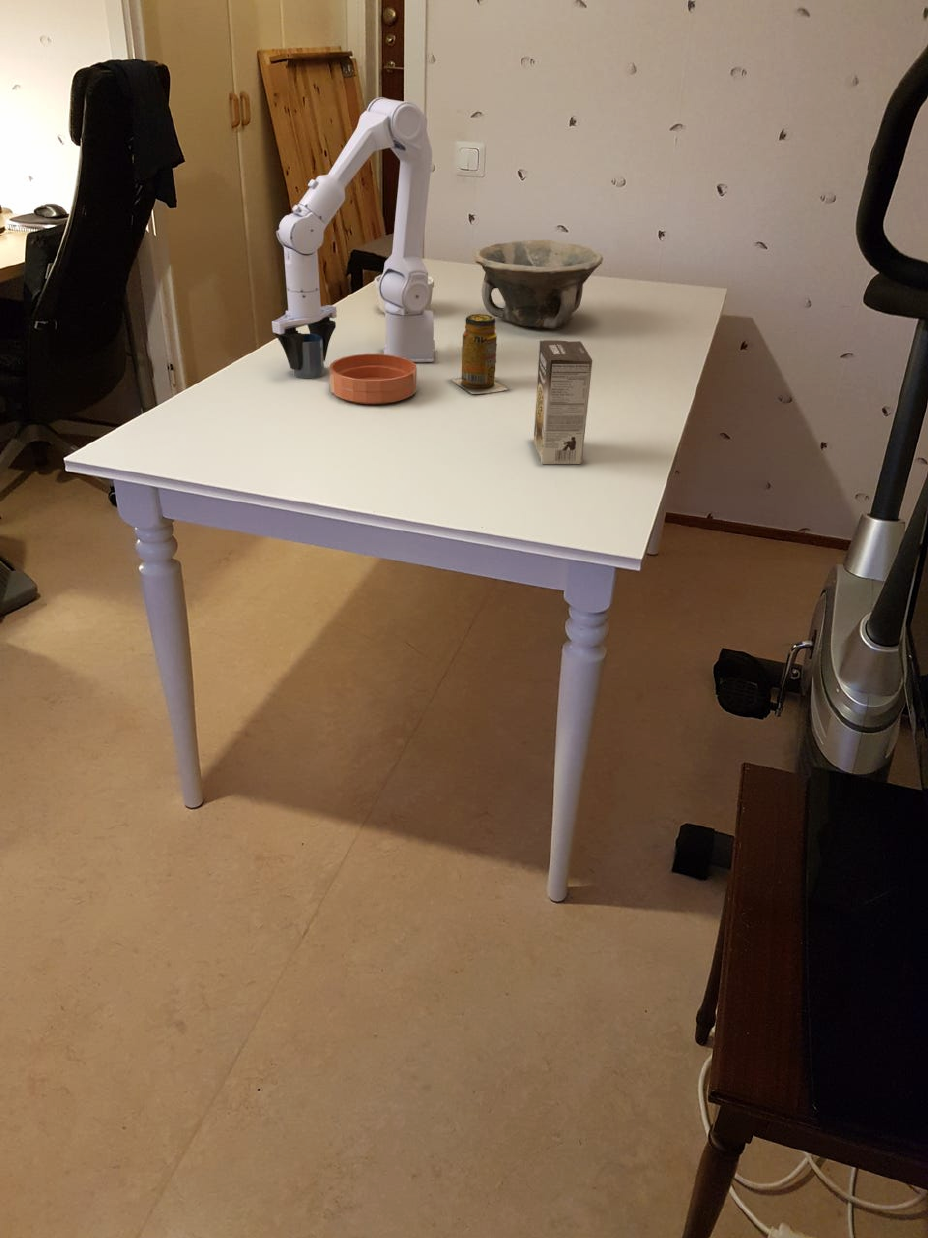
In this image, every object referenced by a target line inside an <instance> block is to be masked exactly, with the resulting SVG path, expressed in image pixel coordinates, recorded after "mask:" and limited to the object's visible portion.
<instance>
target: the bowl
mask: <svg viewBox="0 0 928 1238" xmlns="http://www.w3.org/2000/svg"><path fill="white" fill-rule="evenodd" d="M603 260H604V257H603V255H602V254H600V253H599V252H598V251H596V250H594V249H593V248H591V247H588V246H586V245H581V244H577V243H573V242H572V243H570V242H566V241H560V240H559V241H558V240H552V239H528V240H516V241H508V242H499V243H494V244H490V245H488V246H484V247H482V248H480V249H479V250H477V251H476V252H475V253H474V262H475V263H476V264H478V265H479V266H481V268H482V270H483V271H484V276H483V281H482V284H481V285H482V286H481V299H482V302H483V306H484V308H485V310H486V311H487V312H488V313H489V314H490V316H492V317H494V318H498V319H501V320H505V321H507V322H509V323H512V324H515V325H519V326H522V327H529V328H539V329H552V330H561V329H564V328H565V327H566V326H567V325H569V323H570V321H571V319H572V317H573V314H574V313H575V312H576V311H577V310H578V309H579V307H580V305H581V300H582V297H583V291H584V290H583V289H584V284H585V283H586V281H587V280H588V279H589V278H590V276H591V275H592V274H593V272H594V271H595V270H596V269H597V268H598V267H599V266H601V265H602V263H603ZM494 289H497V290H498V292H499V294H500V295H501V297H502V300H503V302H504V305H505V306H504V307H501V306H497V305H496V303H495V302H494V299H493V296H492V293H493V291H494Z"/></svg>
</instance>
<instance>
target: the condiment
mask: <svg viewBox="0 0 928 1238" xmlns="http://www.w3.org/2000/svg"><path fill="white" fill-rule="evenodd" d="M464 320H465V321H464V324H465V325H464V329H465V330H464V332H463V333H462V347H461V348H462V350H461V376H460V378H453V379H451V381H452V382H453V383H455V384H456V385H457V386H459V388H461V389H462V388H463V389H464V390H465V391H466V392H468V393H470V394H471V395H481V394H490V393H496V392H504V391H508V390H509V389H508V388H507V387H505V386H503V385H502V384H500V383H499V382H496V381H495V375H496V363H497V347H498V344H497V339H498V337H497V333H496V317H495V316H493V315H491V314H490V315H489V314H484V313H483V314H482V313H476V314H475V313H474V314H469V315H467V316H466V317H465V319H464Z"/></svg>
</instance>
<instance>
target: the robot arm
mask: <svg viewBox="0 0 928 1238" xmlns="http://www.w3.org/2000/svg"><path fill="white" fill-rule="evenodd" d="M427 126H428V118H427V116H426V115H425V114H424V112H423V111H422V110H421V108H420V107H419V106H418V105H417V104H415V103H414V102H412V101H407V100H405V101H402V100H397V99H389V98H387V97H384V96H380V97H379V96H378V97H376V98H375V99H373V100H372V101H370V103H369V105H368V107H367V108H366V110H365V111H364V112H363V113H362V114H361V115H360V116H359V119H358V123H357V126H356V128H355V130H354V131H353V133H352V135H351V136H350V138H349V140H348V141H347V143H346V145H345V146H344V148H343V149H342V151H341V153H340V154H339V156H338V157H337V159H336V160H335V162H334V164H333V166H332V167H331V169H330V170H329V172H328V173H327V174H323V175H317V177H316V178H315V179H310V181H309V182H308V184H307V186H308V190H307V191H306V192H305V194H304V195H303V197H302V198H301V199H300V201H299V202H298V204H295V205H294V206H293V207H292V209H291V210H292V211H293V213H289V214H286V215H284V217H283V218H282V219H281V221H280V222H279V225H278V230H276V237H277V240H278V241H279V244H281V246H282V248H283V251H284V252H283V254H284V255H283V256H284V267H285V268H284V271H285V284H286V296H287V297H286V298H287V310H285V314H284V315H282V316H281V317H279V318H278V319H275V320H272V321H271V328H272V333H273V334H274V335H275V337H276V338H277V340H278V341H279V343H280V345H281V347H282V348H283V351H284V353H285V355H286V356H285V357H286V358H287V361H288V364H289V367H290V369H291V370H292V369H294V370H298V371H299V370H301V367H302V344H303V340H304V336H305V334H306V333H301V332H299V331H298V330H297V329H298V328H301V327H305V326H307V328H308V331H309V334H317V335H320V336H321V337H323V354H324V362H326V358H327V353H328V348H329V344H330V341H331V338H332V336H333V333H334V331H335V330H336V328H337V326H336V325H337V323H336V321H335V320H331V319H335V318H337V317H338V316H337V307H336V306H335V305H330V304H326V305H322V306H321V293H320V292H321V288H320V287H321V286H320V272H319V255H318V249H319V248H321V247H322V245H323V243H324V236H325V235H324V232H325V230H326V228H327V226H328V225H329V223H330V222H331V221H332V219H333V218H334V216H336V214H337V212H338V210H339V209H340V208H341V206H343V203H344V202H345V201H346V190H345V189H346V187H347V186H348V185H349V184H350V182H351V180H353V178H354V177H355V175H356V174H357V173H358V172H359V171H360V169H361V168H362V167H363V166H364V164H365V163H366V162H367V161H368V160H369V158H370V157H371V156H372V154H373V153H374V152H376V151H381V150H385V149H390V150H391V151H392V152H393V154H394V155H395V156H396V157H397V158H398V160H399V162H400V163H399V175H398V186H397V197H396V207H395V217H394V219H395V220H394V230H393V240H392V252H391V254H390V256H389V257H388V258H387V259H386V260H385V261H384V266H383V272H382V274H381V275H382V276H381V278H380V280H379V283H378V291H379V294H380V296H381V298H382V299H383V300H384V301H385V314H384V315H385V316H384V317H385V319H384V322H385V324H384V325H385V347H384V348H383V354H390V355H396V356H400V357H404V358H406V359H409V360H411V361H413V362H414V363H434V361H435V358H434V355H435V354H434V353H435V350H436V340H435V315H434V311H433V310H424V309H425V308H426V306H427V305H428V303H429V300H430V288H429V285H428V276H429V271H428V269H427V267H426V264H425V263H424V260H423V259H422V258H423V257H422V256H423V247H424V237H425V229H426V228H425V227H426V217H427V209H428V199H429V190H430V181H431V170H432V163H433V162H432V161H433V150H432V146H431V141H430V139H429V135H428V131H427Z"/></svg>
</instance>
